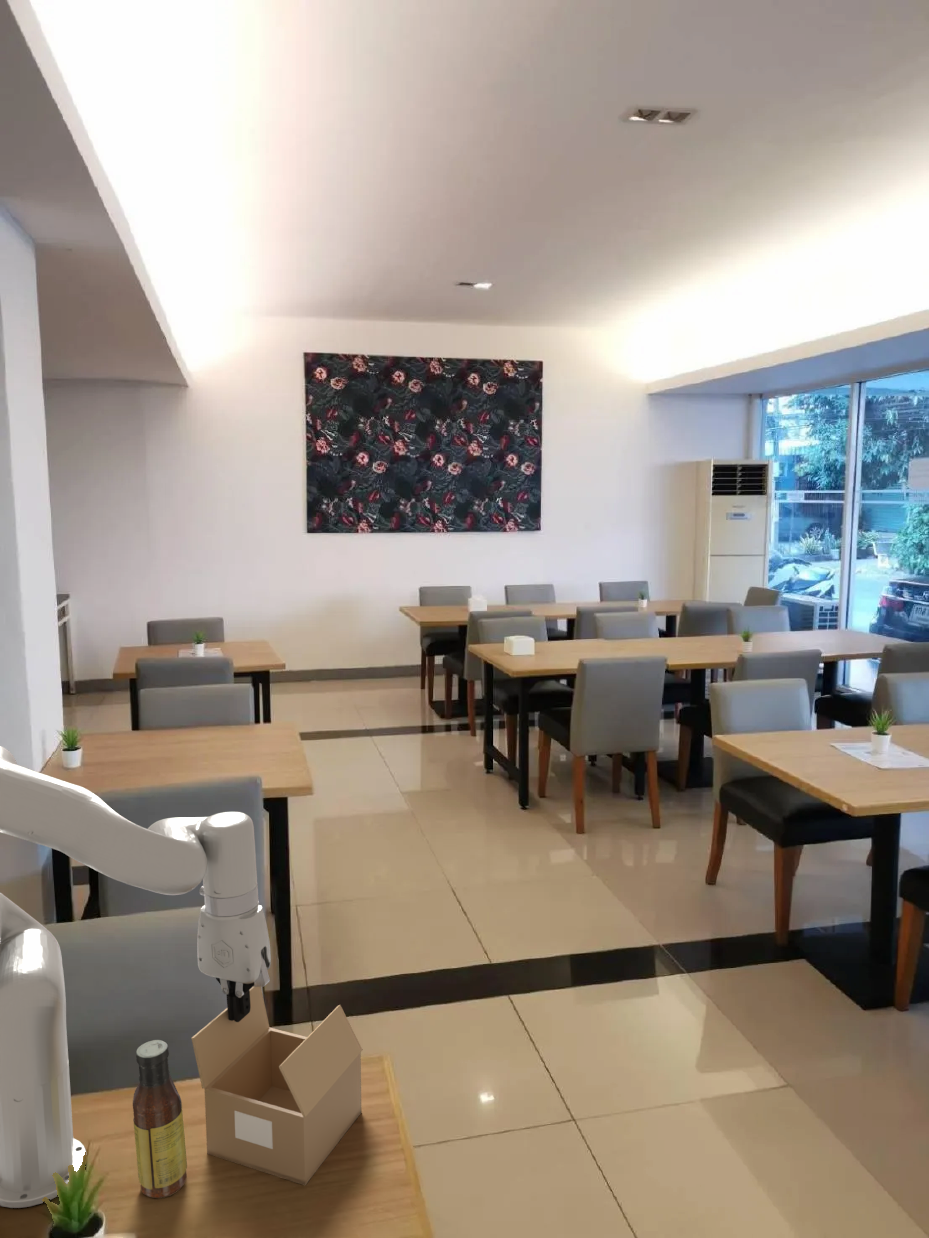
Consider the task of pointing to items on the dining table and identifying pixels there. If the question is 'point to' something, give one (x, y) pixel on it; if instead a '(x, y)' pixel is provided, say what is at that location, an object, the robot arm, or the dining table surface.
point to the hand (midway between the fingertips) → (239, 1016)
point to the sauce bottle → (158, 1124)
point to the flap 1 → (228, 1038)
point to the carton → (276, 1112)
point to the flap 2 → (320, 1060)
